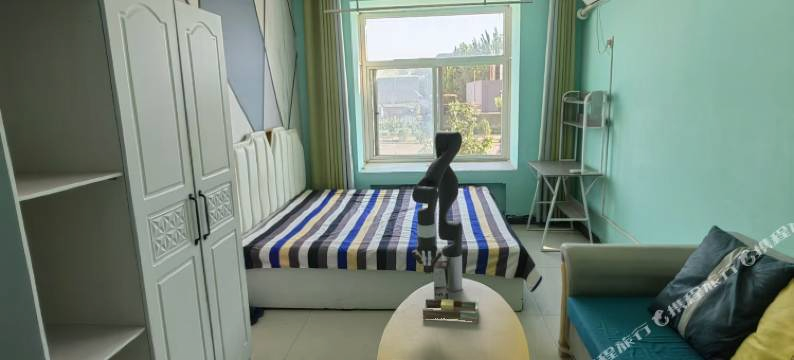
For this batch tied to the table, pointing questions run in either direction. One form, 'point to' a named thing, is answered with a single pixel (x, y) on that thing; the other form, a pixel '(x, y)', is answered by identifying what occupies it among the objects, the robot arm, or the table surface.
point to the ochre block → (447, 304)
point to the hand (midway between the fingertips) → (427, 272)
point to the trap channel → (461, 311)
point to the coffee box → (441, 280)
